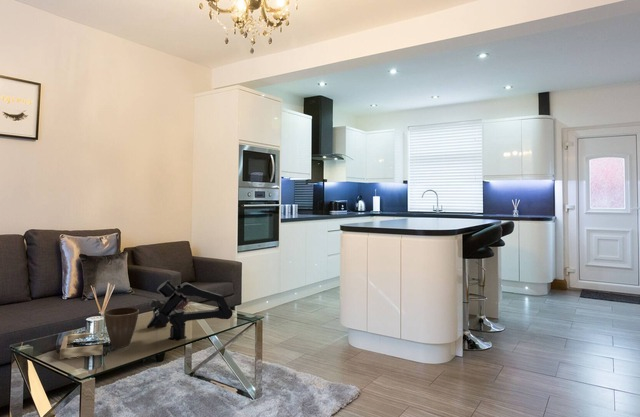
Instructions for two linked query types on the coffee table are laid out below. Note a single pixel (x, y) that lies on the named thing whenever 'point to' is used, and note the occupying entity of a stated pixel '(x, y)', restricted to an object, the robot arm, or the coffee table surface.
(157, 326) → the coffee mug
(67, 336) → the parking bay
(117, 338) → the plant pot
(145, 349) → the coffee table surface
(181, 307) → the red grape bunch
